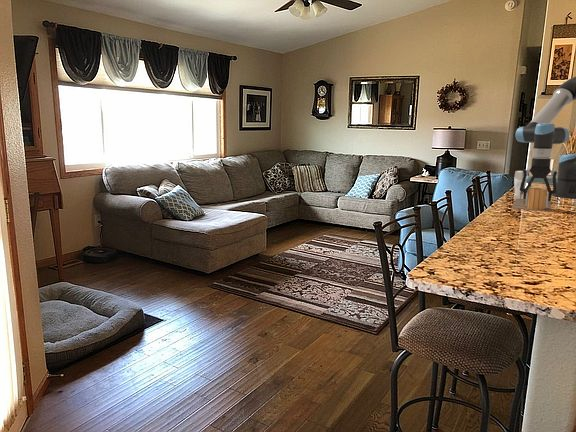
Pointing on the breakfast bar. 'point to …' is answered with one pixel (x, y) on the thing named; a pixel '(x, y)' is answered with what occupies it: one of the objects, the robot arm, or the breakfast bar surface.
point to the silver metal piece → (527, 190)
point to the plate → (520, 205)
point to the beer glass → (518, 184)
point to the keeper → (539, 179)
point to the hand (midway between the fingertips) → (536, 206)
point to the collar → (537, 198)
